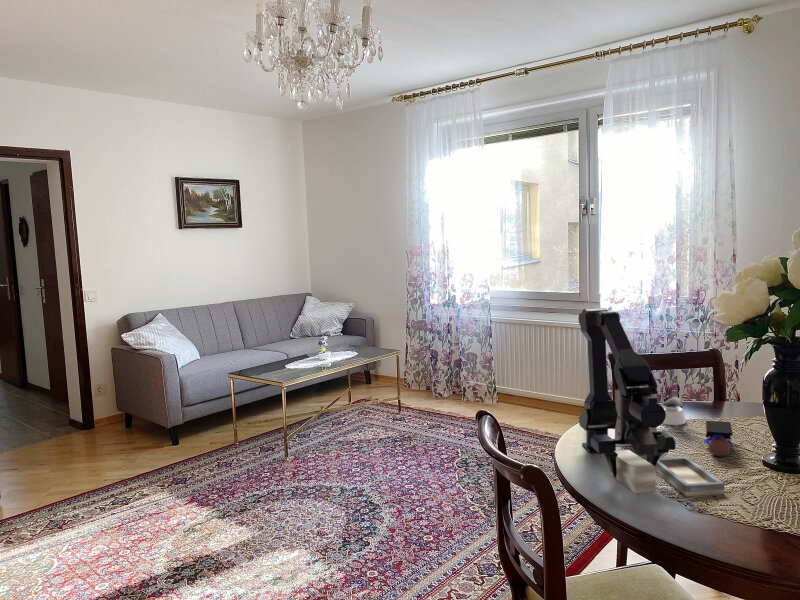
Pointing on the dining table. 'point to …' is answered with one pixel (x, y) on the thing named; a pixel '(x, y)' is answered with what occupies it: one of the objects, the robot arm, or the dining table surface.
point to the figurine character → (719, 437)
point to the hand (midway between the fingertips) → (632, 475)
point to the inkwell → (674, 412)
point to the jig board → (689, 477)
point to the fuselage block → (635, 472)
